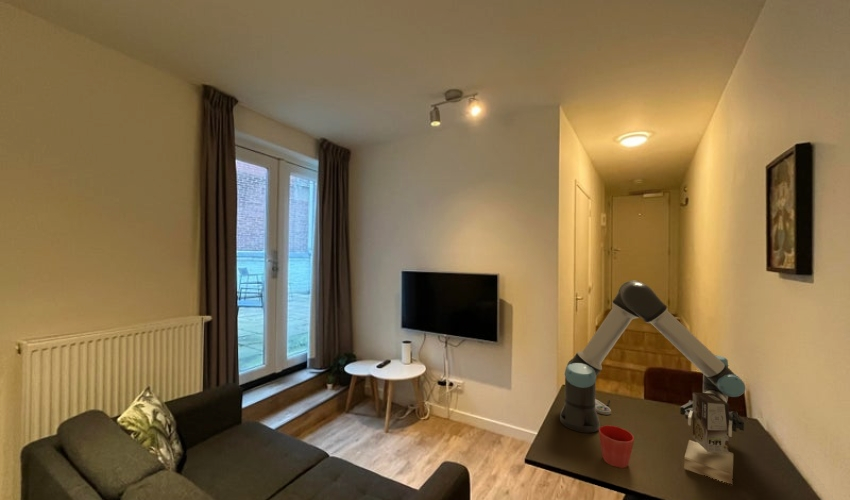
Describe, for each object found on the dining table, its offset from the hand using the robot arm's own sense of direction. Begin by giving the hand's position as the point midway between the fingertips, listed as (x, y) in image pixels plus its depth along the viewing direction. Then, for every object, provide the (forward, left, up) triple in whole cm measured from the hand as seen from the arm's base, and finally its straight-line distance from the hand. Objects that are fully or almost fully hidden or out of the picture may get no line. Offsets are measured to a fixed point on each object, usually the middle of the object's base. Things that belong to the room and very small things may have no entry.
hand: (709, 426), depth 114 cm
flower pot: (-24, -14, -15) cm, 32 cm away
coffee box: (0, +4, -8) cm, 9 cm away
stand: (0, +4, -15) cm, 16 cm away
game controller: (-40, +28, -16) cm, 51 cm away
